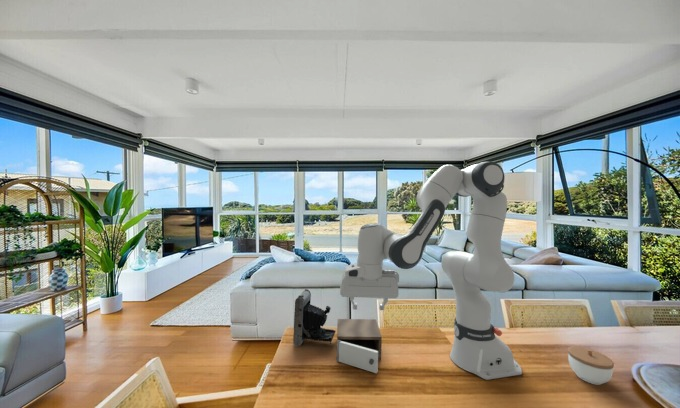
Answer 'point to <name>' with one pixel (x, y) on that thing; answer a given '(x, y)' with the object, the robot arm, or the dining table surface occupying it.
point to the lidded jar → (590, 365)
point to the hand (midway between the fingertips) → (368, 309)
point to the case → (360, 333)
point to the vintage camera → (310, 321)
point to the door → (357, 356)
